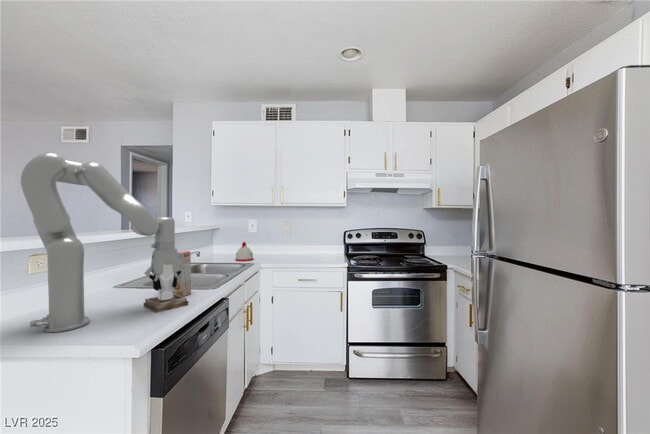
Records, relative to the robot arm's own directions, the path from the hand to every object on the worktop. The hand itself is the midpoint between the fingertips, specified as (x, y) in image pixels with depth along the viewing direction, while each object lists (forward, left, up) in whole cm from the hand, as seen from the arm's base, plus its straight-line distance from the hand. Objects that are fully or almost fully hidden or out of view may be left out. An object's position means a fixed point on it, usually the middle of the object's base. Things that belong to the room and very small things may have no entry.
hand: (165, 288), depth 129 cm
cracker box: (+10, +15, -8) cm, 20 cm away
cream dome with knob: (+93, +76, -8) cm, 120 cm away
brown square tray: (0, 0, -8) cm, 8 cm away
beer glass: (0, 0, -5) cm, 5 cm away
